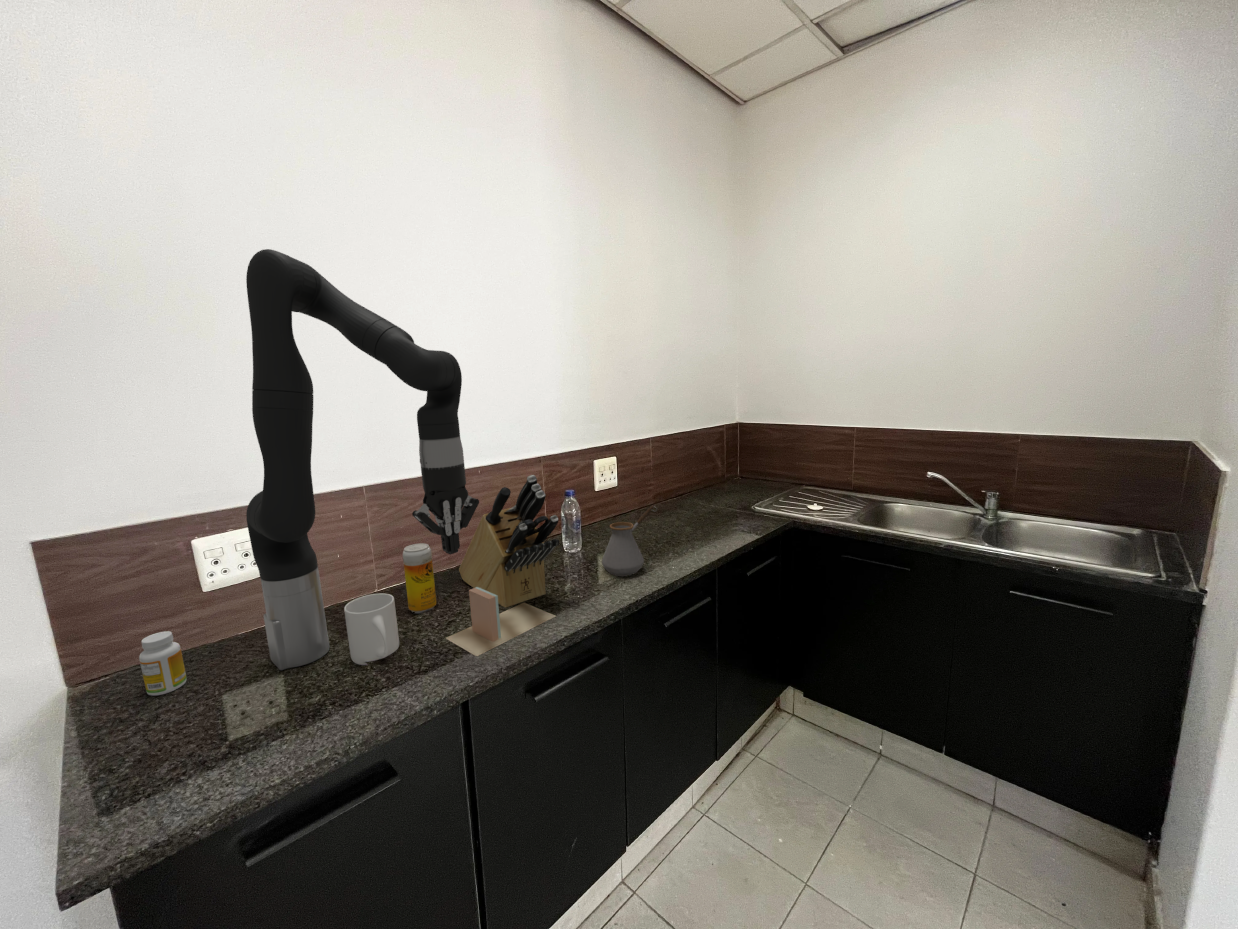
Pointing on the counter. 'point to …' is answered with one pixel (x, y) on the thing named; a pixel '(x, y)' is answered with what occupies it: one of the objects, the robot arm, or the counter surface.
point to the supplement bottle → (162, 664)
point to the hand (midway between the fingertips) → (451, 552)
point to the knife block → (511, 547)
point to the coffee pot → (623, 549)
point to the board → (502, 628)
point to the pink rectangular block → (485, 613)
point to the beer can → (419, 577)
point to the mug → (371, 627)
